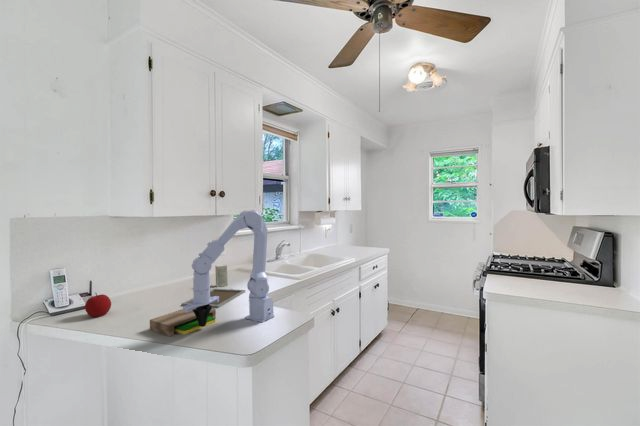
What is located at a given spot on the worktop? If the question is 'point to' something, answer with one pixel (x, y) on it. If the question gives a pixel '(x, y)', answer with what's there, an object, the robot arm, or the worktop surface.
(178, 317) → the low shelf
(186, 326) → the dish sponge
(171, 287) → the worktop surface
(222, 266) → the skincare box
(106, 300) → the apple
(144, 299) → the worktop surface
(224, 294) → the grey flat tray
